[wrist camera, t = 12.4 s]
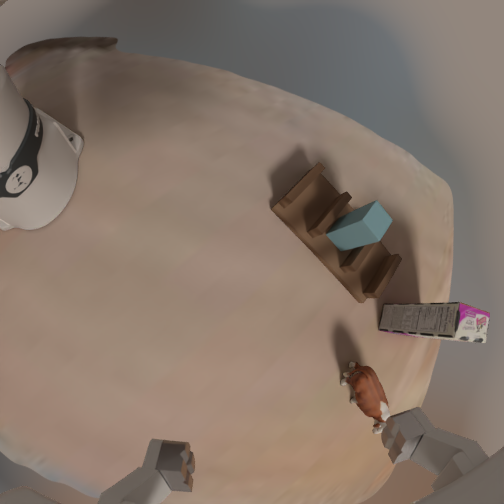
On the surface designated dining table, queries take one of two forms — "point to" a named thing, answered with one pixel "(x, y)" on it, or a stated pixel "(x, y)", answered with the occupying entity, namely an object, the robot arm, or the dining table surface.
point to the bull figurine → (368, 394)
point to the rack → (314, 237)
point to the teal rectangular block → (360, 227)
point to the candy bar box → (436, 321)
